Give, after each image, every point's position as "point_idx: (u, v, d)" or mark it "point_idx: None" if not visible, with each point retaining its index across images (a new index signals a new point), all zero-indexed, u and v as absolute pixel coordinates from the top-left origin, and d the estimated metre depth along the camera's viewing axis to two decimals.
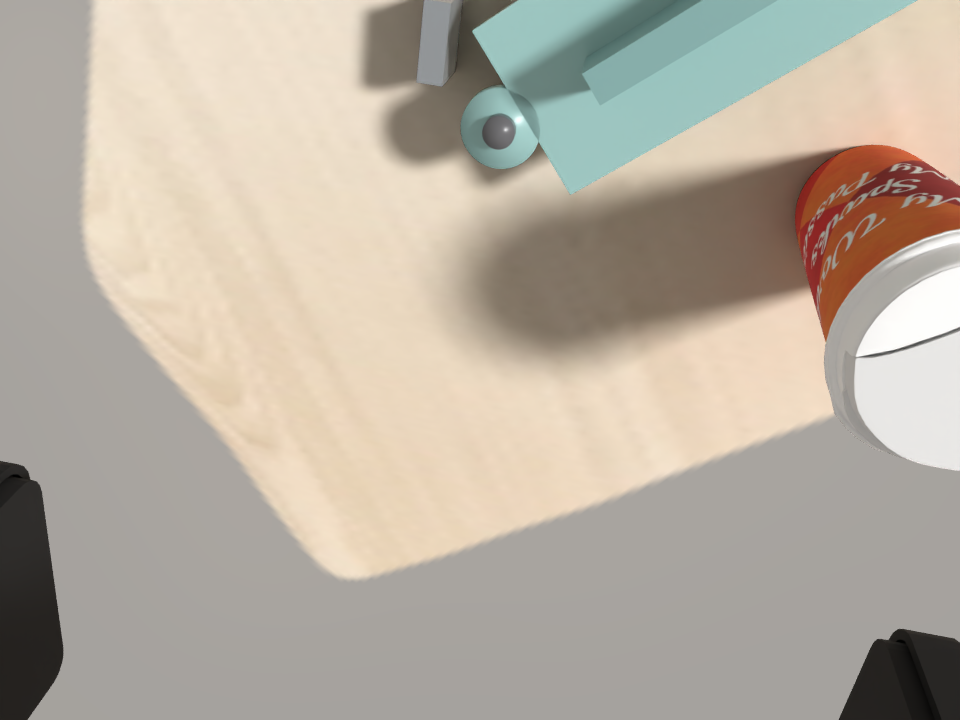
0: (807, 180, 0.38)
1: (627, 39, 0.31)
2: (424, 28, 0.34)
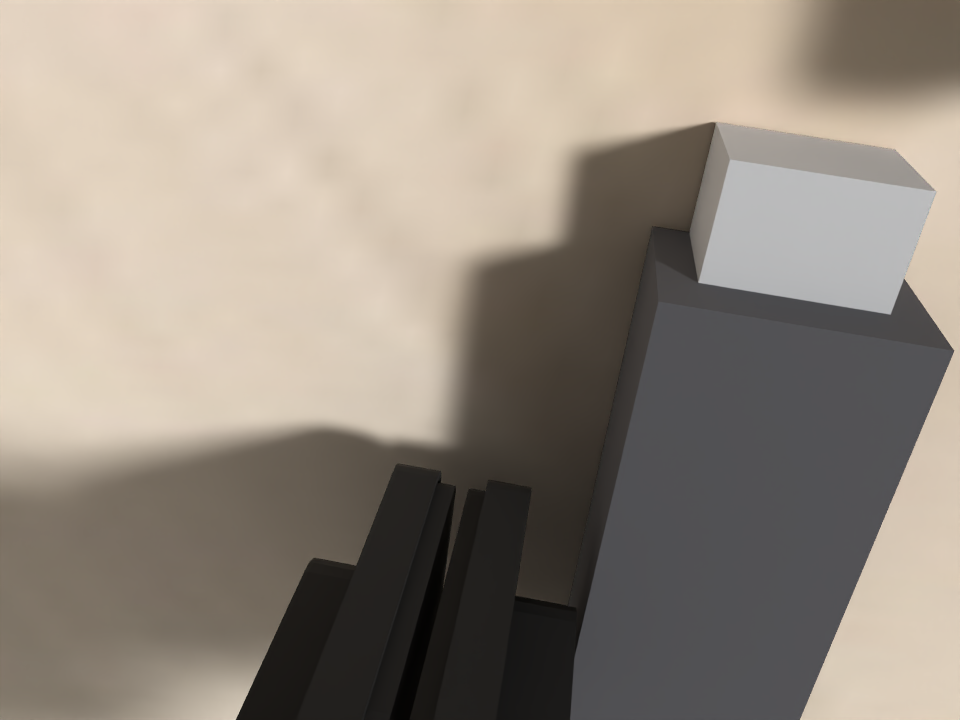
0: None
1: None
2: None
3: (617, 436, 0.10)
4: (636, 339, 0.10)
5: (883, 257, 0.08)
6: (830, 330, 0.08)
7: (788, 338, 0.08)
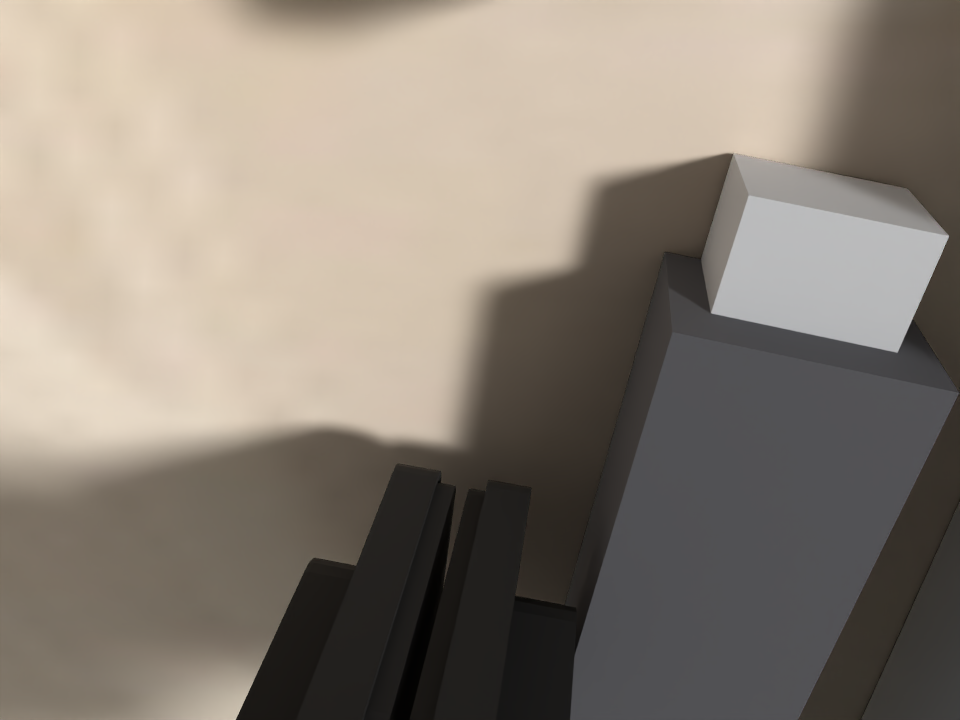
0: None
1: None
2: None
3: (622, 458, 0.10)
4: (645, 363, 0.10)
5: (895, 297, 0.09)
6: (839, 367, 0.08)
7: (799, 375, 0.08)
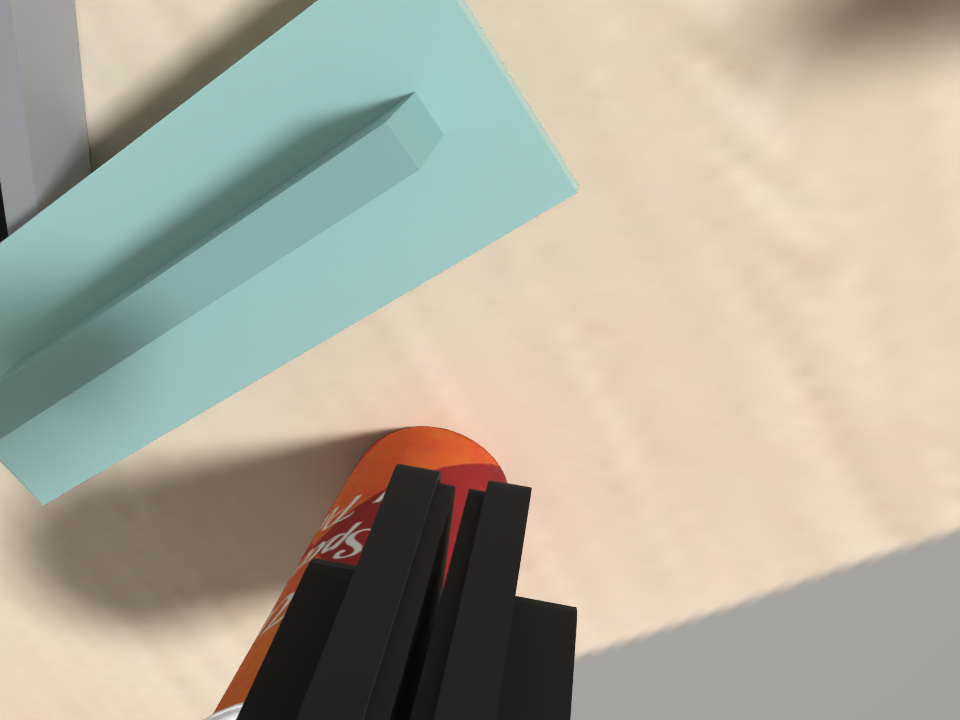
0: None
1: (15, 369, 0.25)
2: None
3: None
4: None
5: None
6: None
7: None
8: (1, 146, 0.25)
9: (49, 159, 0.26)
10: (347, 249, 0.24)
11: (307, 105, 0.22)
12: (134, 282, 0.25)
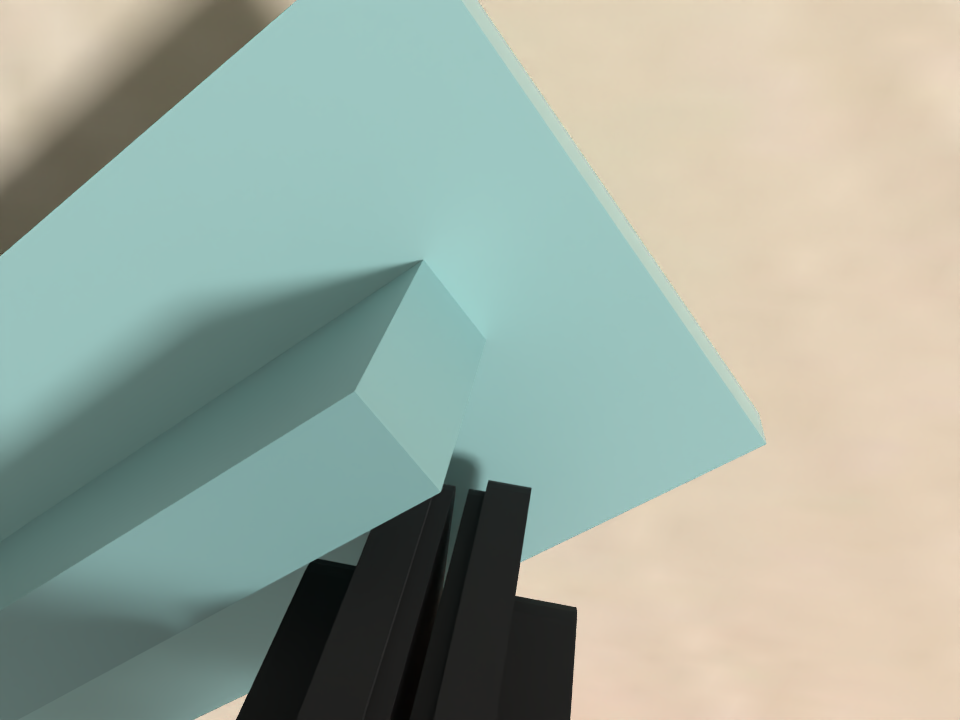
0: None
1: None
2: None
3: None
4: None
5: None
6: None
7: None
8: None
9: None
10: None
11: (204, 289, 0.11)
12: None
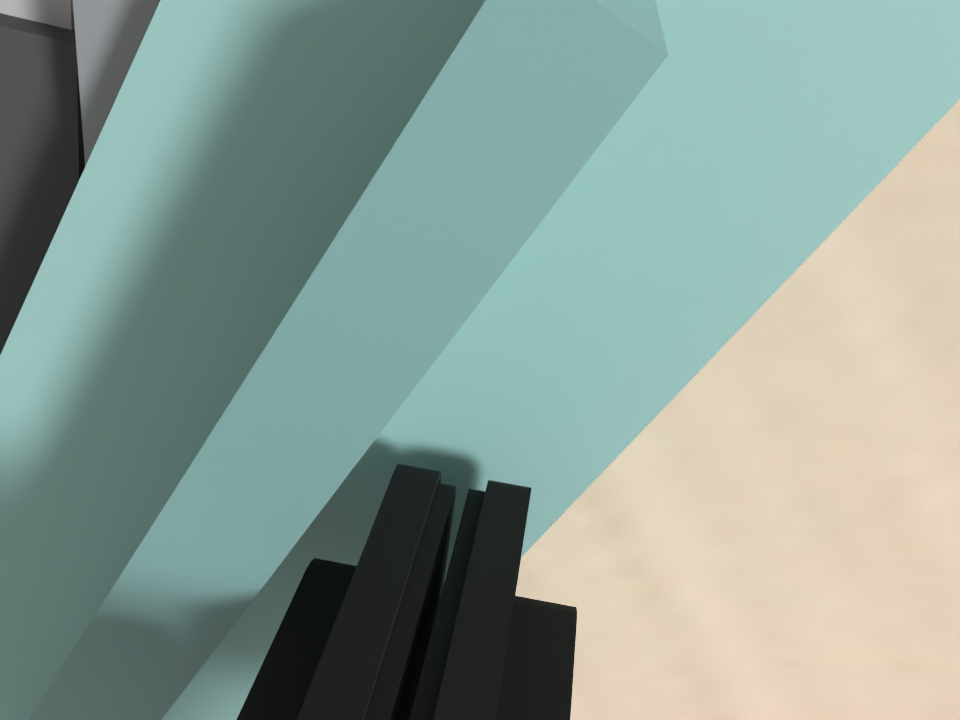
0: None
1: None
2: None
3: None
4: None
5: None
6: (1, 27, 0.12)
7: None
8: None
9: None
10: (517, 351, 0.11)
11: (323, 69, 0.10)
12: None
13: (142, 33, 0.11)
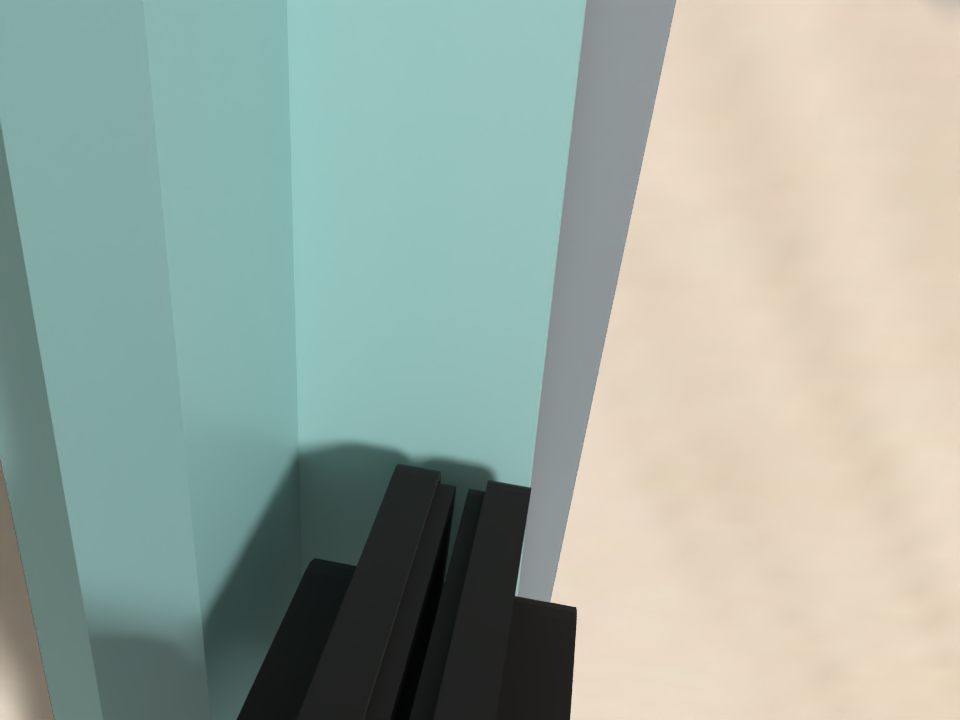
0: None
1: None
2: None
3: None
4: None
5: None
6: None
7: None
8: None
9: None
10: (393, 170, 0.10)
11: None
12: None
13: (626, 156, 0.10)
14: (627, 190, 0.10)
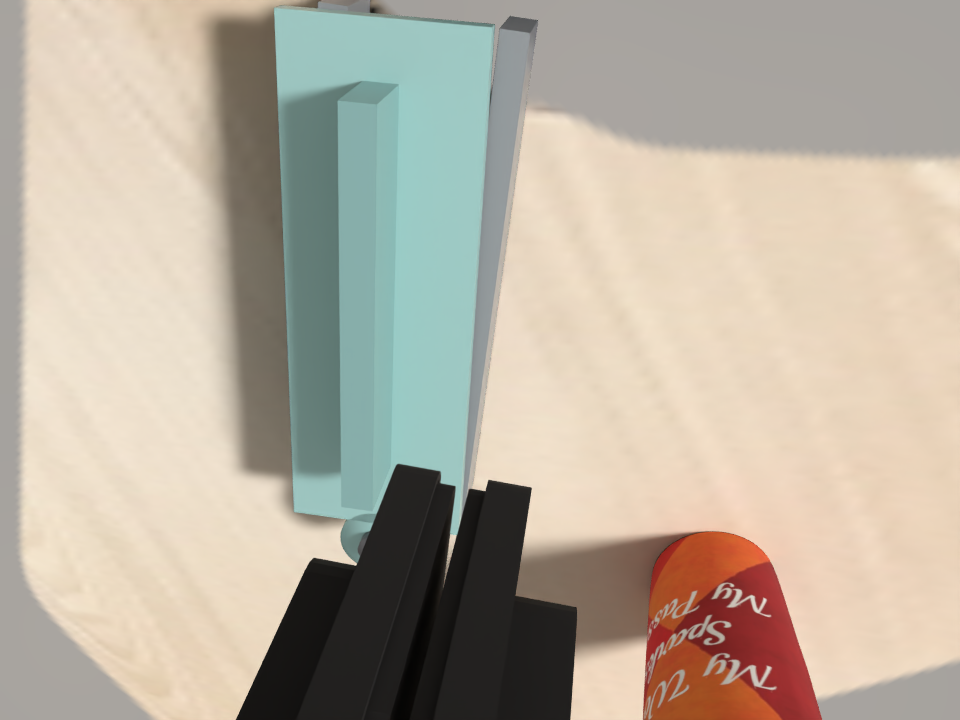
0: (660, 555, 0.42)
1: None
2: None
3: None
4: None
5: None
6: None
7: None
8: None
9: (488, 350, 0.36)
10: (428, 202, 0.32)
11: (329, 151, 0.31)
12: None
13: (502, 197, 0.32)
14: (503, 208, 0.32)
